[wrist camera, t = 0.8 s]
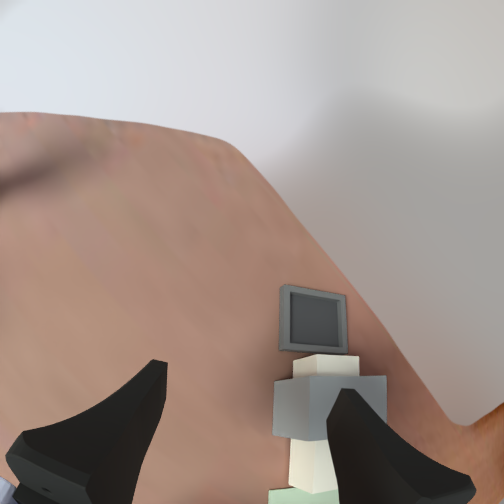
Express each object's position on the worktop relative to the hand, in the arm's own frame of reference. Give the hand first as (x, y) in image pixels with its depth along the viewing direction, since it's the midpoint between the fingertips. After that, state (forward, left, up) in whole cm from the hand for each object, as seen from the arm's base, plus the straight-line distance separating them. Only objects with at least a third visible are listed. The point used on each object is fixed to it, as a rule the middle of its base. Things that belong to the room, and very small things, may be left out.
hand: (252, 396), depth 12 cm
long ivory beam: (-2, -11, -14) cm, 18 cm away
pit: (+8, -11, -14) cm, 19 cm away
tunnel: (-1, -11, -14) cm, 18 cm away
